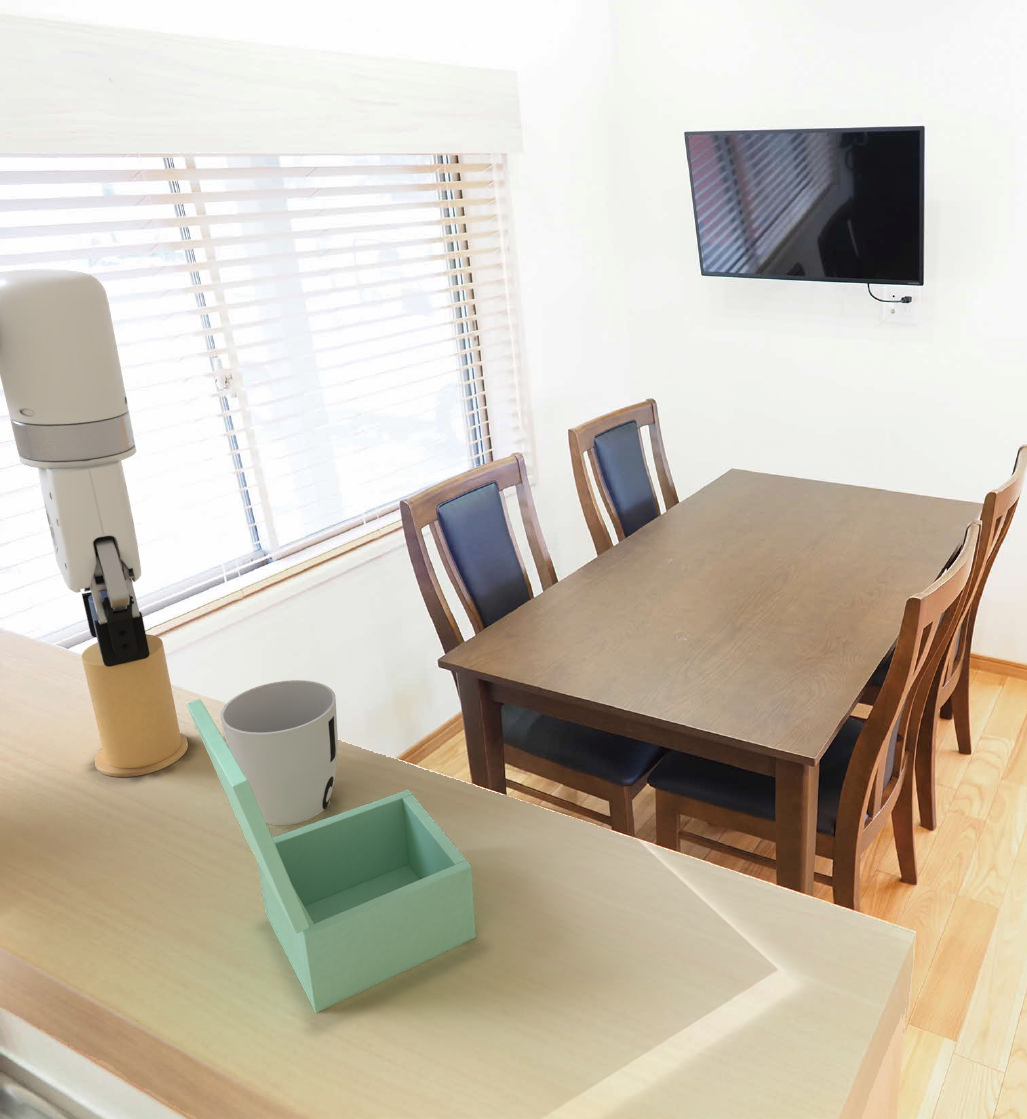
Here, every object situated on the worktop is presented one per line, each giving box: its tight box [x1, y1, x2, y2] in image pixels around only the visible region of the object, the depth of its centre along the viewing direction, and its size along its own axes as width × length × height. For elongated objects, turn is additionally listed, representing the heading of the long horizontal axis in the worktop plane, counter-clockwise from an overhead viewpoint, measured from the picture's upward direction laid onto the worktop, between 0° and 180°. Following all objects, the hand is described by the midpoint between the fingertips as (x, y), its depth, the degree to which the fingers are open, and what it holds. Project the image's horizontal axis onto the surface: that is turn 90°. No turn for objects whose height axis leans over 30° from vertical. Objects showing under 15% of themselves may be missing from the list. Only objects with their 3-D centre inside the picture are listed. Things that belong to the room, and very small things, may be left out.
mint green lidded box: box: [256, 789, 477, 1014], centre depth 64 cm, size 11×11×7 cm
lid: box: [186, 698, 309, 934], centre depth 57 cm, size 11×11×1 cm
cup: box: [219, 679, 339, 826], centre depth 76 cm, size 8×8×10 cm
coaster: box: [94, 732, 189, 778], centre depth 84 cm, size 7×7×1 cm
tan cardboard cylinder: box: [81, 590, 182, 768], centre depth 81 cm, size 6×6×15 cm
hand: (119, 644), depth 80 cm, fingers open, 5 cm apart
